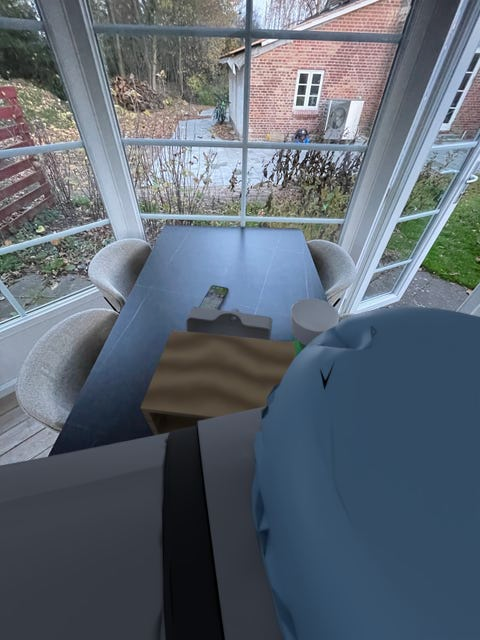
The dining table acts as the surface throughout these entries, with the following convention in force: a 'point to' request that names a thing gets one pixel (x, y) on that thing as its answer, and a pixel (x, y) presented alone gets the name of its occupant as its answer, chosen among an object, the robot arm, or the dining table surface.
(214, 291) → the smartphone
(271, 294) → the dining table surface
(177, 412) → the cupboard
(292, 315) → the cup
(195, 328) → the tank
